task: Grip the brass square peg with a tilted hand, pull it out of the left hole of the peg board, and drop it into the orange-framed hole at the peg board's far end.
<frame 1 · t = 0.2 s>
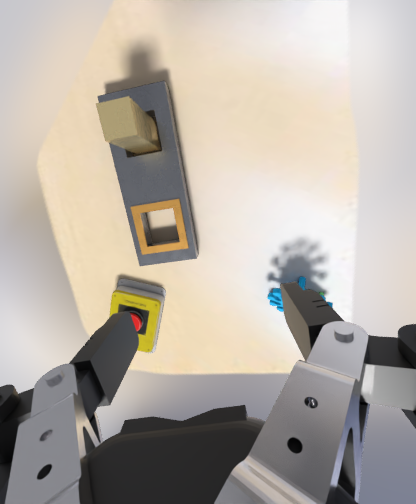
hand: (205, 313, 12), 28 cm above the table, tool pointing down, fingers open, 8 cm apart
emergency button: (138, 315, 45), on the table
peg board: (155, 183, 38), on the table
gear: (294, 294, 41), on the table
brass peg: (146, 138, 36), resting in peg board
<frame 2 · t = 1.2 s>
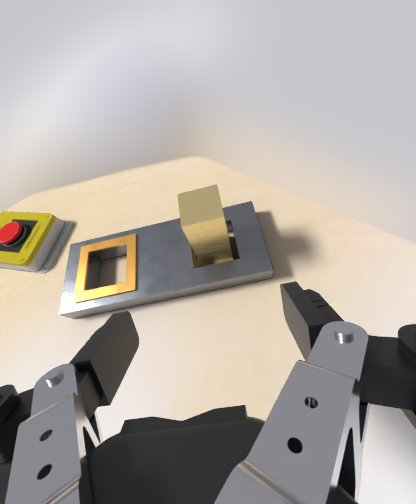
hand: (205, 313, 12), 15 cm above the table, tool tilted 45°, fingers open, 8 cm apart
emergency button: (29, 245, 38), on the table
peg board: (165, 263, 31), on the table
brass peg: (216, 252, 30), resting in peg board
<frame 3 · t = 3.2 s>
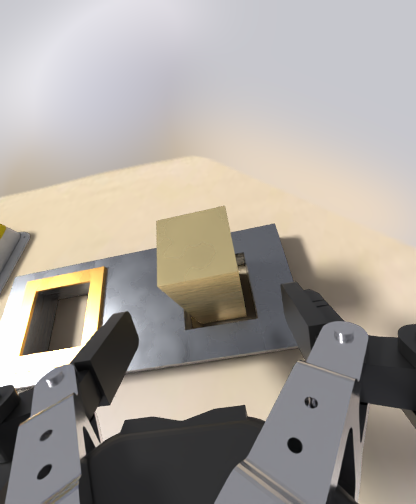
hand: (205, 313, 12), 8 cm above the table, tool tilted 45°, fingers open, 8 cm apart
peg board: (146, 310, 21), on the table
brass peg: (220, 297, 21), resting in peg board
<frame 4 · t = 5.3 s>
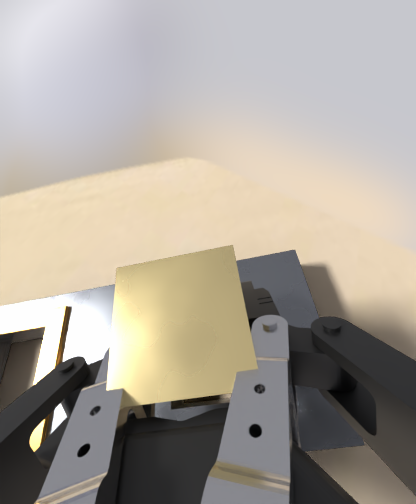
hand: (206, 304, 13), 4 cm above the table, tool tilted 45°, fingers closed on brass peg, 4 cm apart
peg board: (123, 364, 16), on the table
brass peg: (221, 349, 15), resting in peg board, touching gripper
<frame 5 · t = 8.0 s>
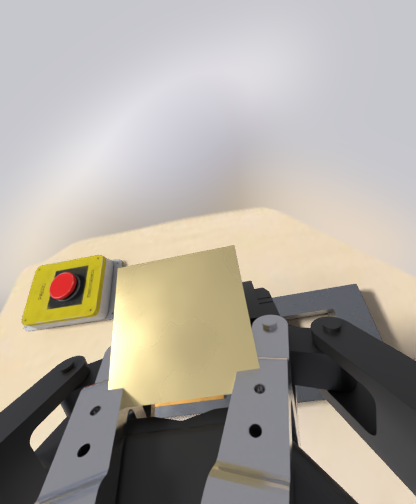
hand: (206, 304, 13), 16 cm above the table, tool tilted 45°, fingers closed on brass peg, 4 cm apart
emergency button: (77, 295, 35), on the table
peg board: (247, 351, 26), on the table
brass peg: (222, 349, 15), point 12 cm above the table, touching gripper
when the fingers open (5 cm above the table, at t = 10.8 s): brass peg drops 1 cm, resting in peg board.
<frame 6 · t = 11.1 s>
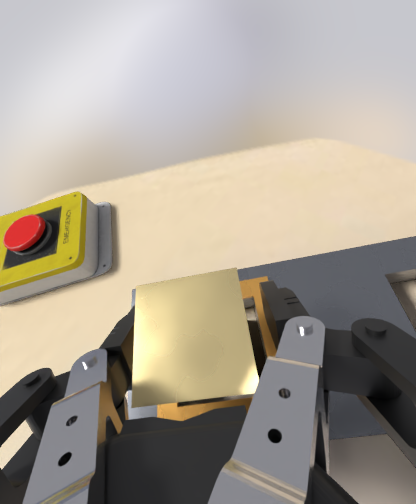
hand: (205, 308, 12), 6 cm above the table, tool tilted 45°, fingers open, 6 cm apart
emergency button: (50, 256, 25), on the table
peg board: (322, 335, 16), on the table
brass peg: (224, 352, 16), resting in peg board
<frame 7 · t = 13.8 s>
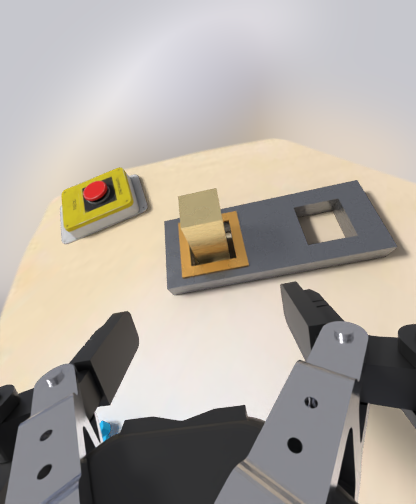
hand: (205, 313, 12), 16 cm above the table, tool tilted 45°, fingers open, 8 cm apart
emergency button: (104, 210, 39), on the table
peg board: (265, 242, 30), on the table
brass peg: (214, 253, 31), resting in peg board
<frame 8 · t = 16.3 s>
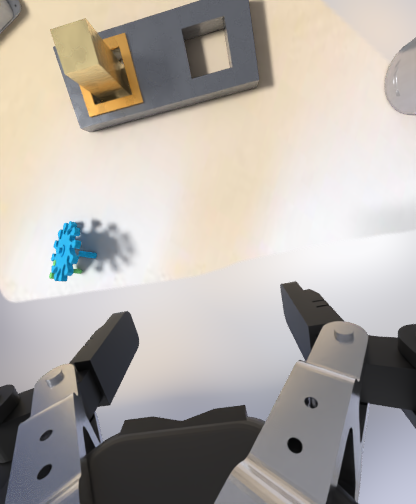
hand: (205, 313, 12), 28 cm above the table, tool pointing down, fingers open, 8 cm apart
peg board: (160, 72, 33), on the table
gear: (78, 247, 41), on the table
brass peg: (115, 86, 33), resting in peg board
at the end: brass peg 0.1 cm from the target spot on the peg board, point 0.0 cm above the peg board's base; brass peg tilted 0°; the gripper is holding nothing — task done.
